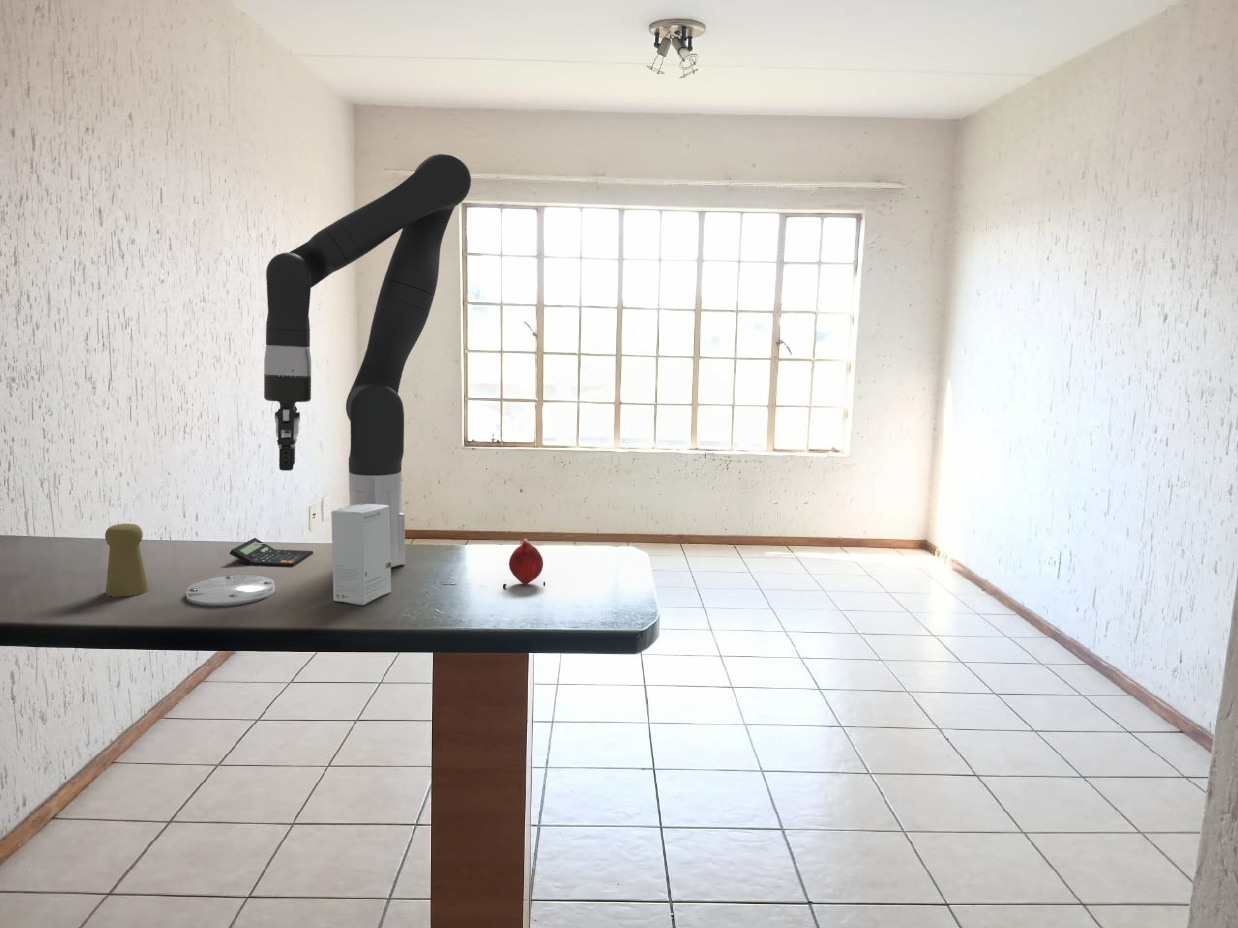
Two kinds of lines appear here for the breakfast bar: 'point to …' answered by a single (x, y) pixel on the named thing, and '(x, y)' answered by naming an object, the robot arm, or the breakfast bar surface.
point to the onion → (526, 563)
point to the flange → (230, 590)
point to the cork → (125, 561)
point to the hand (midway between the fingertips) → (287, 467)
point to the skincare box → (361, 553)
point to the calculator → (268, 554)
